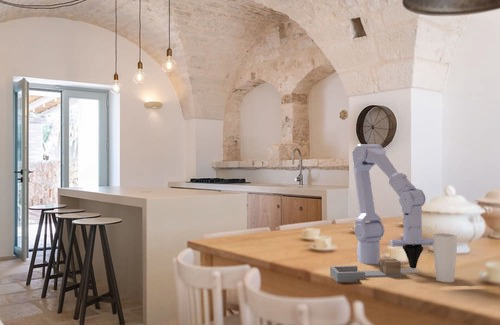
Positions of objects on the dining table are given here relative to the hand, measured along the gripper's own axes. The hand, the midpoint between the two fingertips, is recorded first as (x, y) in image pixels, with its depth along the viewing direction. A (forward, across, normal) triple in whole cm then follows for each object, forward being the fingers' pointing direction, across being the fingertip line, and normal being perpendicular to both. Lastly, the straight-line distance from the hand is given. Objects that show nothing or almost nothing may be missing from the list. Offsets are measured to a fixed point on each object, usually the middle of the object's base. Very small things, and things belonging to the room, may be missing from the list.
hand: (412, 267), depth 156 cm
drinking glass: (+3, +6, -9) cm, 11 cm away
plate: (+3, 0, +5) cm, 5 cm away
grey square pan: (+3, -16, 0) cm, 16 cm away
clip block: (+1, -8, 0) cm, 8 cm away
